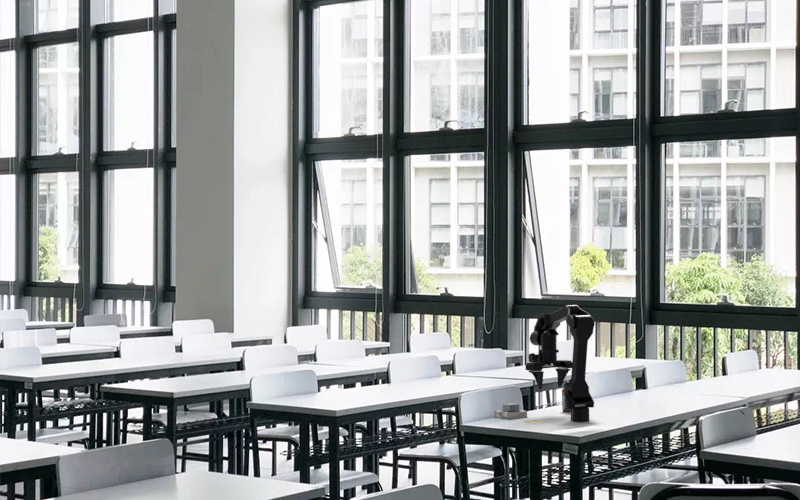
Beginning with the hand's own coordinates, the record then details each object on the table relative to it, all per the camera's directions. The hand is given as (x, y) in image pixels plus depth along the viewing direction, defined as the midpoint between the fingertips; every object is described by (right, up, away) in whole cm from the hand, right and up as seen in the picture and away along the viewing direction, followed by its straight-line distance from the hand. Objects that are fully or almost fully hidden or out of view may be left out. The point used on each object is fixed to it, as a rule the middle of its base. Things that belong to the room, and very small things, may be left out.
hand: (549, 388), depth 402 cm
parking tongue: (-9, -11, -21) cm, 25 cm away
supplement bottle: (+10, -11, +15) cm, 21 cm away
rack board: (-14, -11, -9) cm, 20 cm away
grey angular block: (-15, -10, -7) cm, 20 cm away
